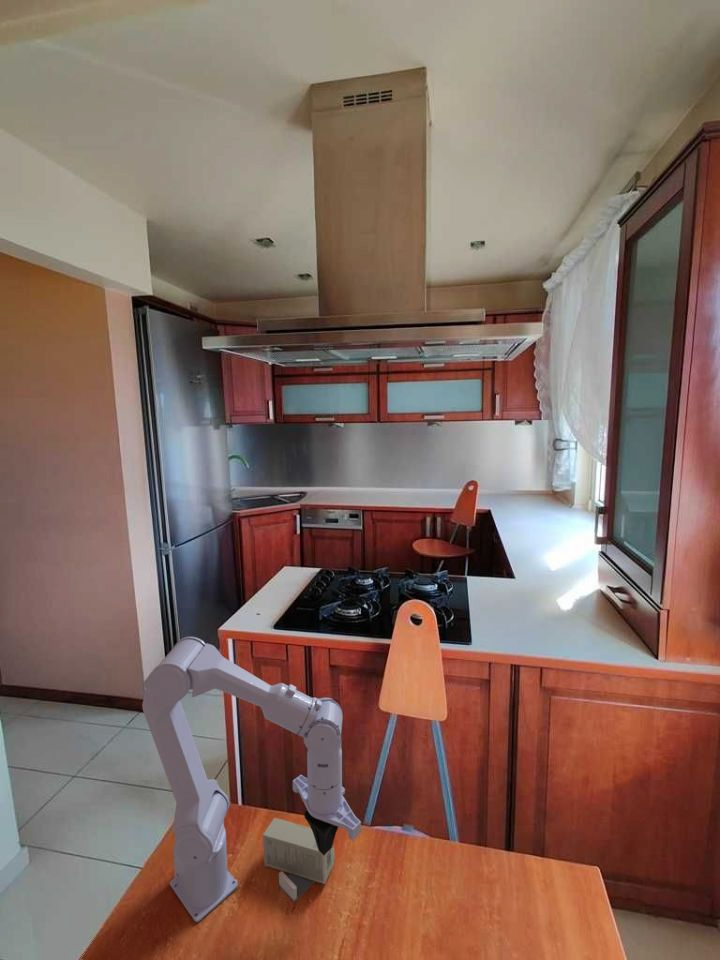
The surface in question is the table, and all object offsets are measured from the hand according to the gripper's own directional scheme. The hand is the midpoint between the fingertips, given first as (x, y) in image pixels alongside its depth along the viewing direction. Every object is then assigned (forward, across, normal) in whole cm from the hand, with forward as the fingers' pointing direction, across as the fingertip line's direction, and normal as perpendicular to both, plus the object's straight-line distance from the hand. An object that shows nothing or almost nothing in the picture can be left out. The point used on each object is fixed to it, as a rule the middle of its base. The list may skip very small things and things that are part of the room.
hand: (325, 848), depth 77 cm
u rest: (+8, +5, 0) cm, 10 cm away
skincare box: (+5, +1, -2) cm, 5 cm away
